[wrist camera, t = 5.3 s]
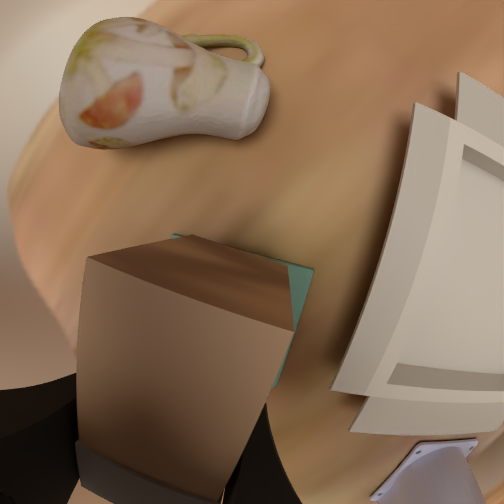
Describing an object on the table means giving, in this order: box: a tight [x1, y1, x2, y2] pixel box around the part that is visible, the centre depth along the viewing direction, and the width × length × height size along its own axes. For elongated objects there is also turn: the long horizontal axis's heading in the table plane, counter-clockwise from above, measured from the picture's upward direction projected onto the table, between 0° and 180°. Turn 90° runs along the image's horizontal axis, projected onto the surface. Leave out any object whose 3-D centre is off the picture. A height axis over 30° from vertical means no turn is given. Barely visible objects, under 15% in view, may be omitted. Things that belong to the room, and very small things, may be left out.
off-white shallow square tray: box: [330, 71, 504, 435], centre depth 13 cm, size 21×19×3 cm
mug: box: [59, 17, 271, 150], centre depth 12 cm, size 8×10×10 cm
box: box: [75, 235, 294, 504], centre depth 9 cm, size 4×8×7 cm, turn 163°
